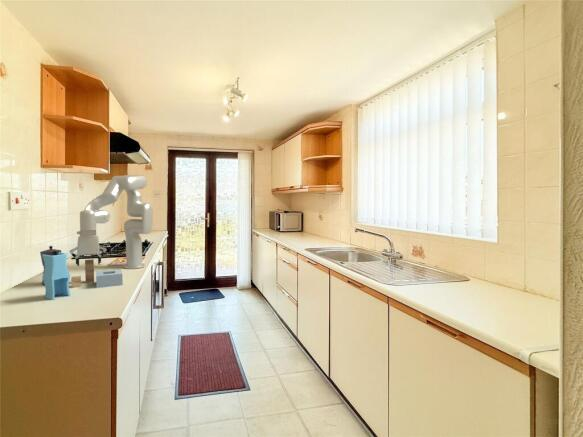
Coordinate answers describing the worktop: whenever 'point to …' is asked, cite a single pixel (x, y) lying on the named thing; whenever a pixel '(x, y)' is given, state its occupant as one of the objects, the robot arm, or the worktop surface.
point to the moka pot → (51, 253)
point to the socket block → (109, 278)
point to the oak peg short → (76, 281)
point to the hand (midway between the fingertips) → (88, 264)
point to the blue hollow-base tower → (56, 275)
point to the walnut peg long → (89, 271)
